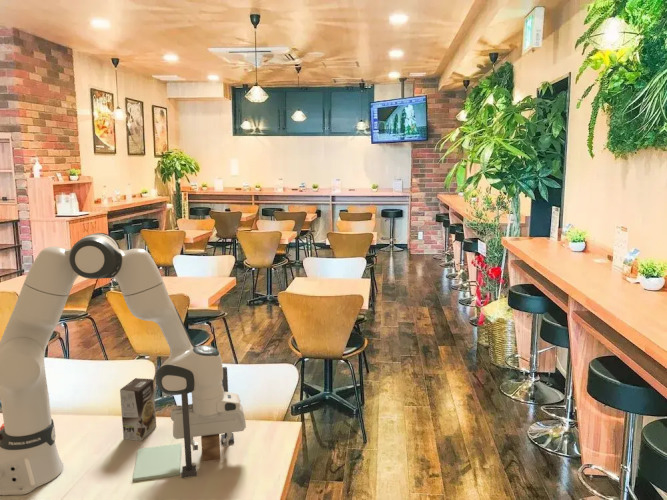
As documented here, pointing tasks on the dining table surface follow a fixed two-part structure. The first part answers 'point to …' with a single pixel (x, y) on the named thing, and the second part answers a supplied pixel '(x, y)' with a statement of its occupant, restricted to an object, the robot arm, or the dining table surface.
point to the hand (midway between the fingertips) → (210, 447)
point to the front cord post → (187, 440)
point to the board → (157, 462)
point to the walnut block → (210, 447)
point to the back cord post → (225, 387)
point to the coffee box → (138, 409)
